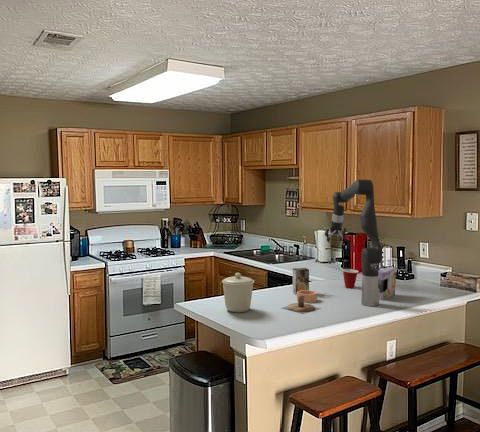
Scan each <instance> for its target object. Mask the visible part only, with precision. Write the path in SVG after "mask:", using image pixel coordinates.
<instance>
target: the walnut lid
mask: <svg viewBox="0 0 480 432" xmlns="http://www.w3.org/2000/svg"><path fill="white" fill-rule="evenodd" d="M287 306H288V309H289V310H291V311H290V312H293V311H296V312H295V313H297V312H308V313H311V312H310V311H312V312H314V311H313V310H314V307H315V306H314V305H312V304H309V303H305V302H304V296H301V295H300V296H298V301H297V302H295V303H289V304H287ZM289 310H288V311H289Z"/></svg>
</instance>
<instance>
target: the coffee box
mask: <svg viewBox="0 0 480 432" xmlns="http://www.w3.org/2000/svg"><path fill="white" fill-rule="evenodd" d="M301 290H310V269H309V268H307V267H294V268H292V293H293V295H295V294H297V291H301Z"/></svg>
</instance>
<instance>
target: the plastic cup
mask: <svg viewBox="0 0 480 432" xmlns="http://www.w3.org/2000/svg"><path fill="white" fill-rule="evenodd" d="M341 271H342V273H343V282H344V286H345V287H344V288H345V289H354V288H355V285H356V281H357V276H358V273H359V270H357V269H351V268H342V270H341Z"/></svg>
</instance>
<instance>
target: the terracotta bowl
mask: <svg viewBox="0 0 480 432" xmlns="http://www.w3.org/2000/svg"><path fill="white" fill-rule="evenodd" d="M317 294H318V293H317V291H314V290H310V289H309V290H301V291H297V295H296V300H297V302H298V296H300V295H301V296H304V304H309V303H315V302H317V297H318V296H317Z"/></svg>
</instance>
